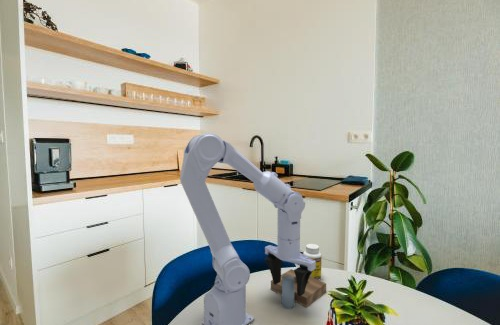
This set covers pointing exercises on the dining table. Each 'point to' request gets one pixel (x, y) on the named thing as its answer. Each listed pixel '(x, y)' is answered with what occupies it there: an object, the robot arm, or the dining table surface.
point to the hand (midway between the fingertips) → (288, 288)
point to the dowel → (288, 291)
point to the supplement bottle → (315, 255)
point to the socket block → (311, 291)
